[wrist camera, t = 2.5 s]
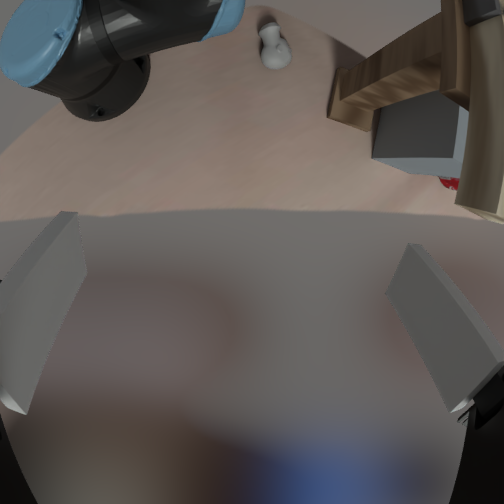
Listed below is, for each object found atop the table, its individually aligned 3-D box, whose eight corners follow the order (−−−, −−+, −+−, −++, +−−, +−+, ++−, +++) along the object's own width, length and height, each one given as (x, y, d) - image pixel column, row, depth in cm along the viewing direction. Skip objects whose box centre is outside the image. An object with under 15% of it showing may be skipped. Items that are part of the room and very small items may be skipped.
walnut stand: (324, 129, 42) (455, 87, 14) (337, 69, 40) (453, -14, 11) (363, 143, 43) (510, 130, 15) (374, 84, 41) (505, 30, 12)
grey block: (371, 158, 44) (452, 158, 25) (383, 98, 42) (461, 72, 22) (409, 173, 45) (492, 182, 26) (419, 116, 43) (500, 103, 24)
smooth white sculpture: (286, 74, 41) (256, 71, 39) (282, 32, 38) (253, 28, 37) (300, 67, 37) (269, 63, 35) (295, 23, 35) (264, 17, 33)
